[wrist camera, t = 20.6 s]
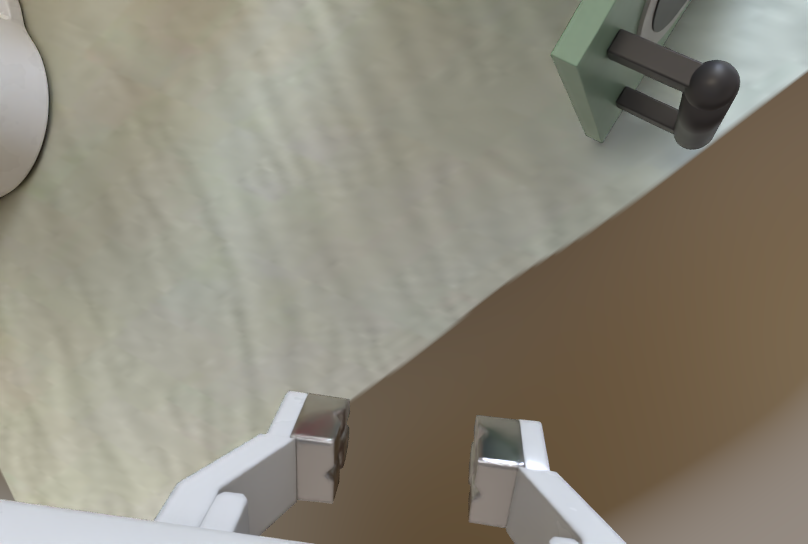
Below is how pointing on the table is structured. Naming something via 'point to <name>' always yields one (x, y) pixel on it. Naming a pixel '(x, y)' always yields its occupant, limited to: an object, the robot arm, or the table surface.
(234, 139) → the table surface
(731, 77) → the door
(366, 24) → the table surface
